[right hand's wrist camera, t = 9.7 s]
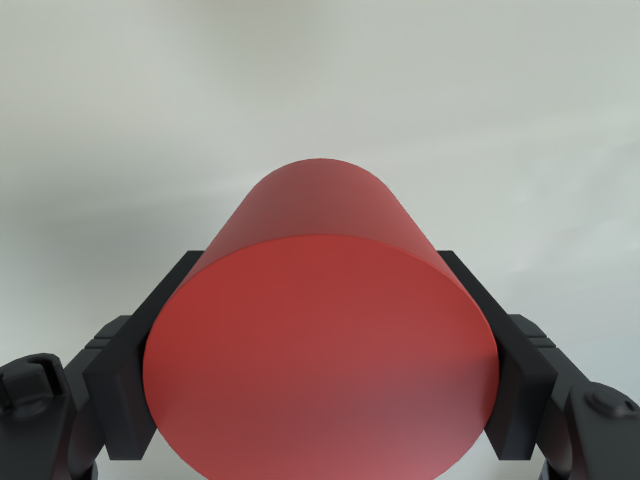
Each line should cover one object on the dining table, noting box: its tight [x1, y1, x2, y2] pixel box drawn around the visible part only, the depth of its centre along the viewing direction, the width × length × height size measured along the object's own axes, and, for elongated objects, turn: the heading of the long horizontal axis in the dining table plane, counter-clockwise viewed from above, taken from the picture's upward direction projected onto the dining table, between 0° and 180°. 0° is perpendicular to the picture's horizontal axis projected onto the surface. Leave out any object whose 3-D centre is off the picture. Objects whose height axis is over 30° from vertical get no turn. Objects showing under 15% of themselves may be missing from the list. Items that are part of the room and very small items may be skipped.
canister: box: [142, 158, 499, 480], centre depth 13 cm, size 9×9×10 cm
